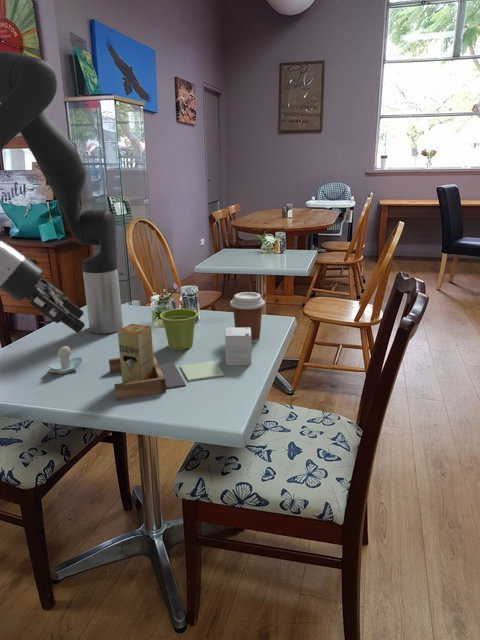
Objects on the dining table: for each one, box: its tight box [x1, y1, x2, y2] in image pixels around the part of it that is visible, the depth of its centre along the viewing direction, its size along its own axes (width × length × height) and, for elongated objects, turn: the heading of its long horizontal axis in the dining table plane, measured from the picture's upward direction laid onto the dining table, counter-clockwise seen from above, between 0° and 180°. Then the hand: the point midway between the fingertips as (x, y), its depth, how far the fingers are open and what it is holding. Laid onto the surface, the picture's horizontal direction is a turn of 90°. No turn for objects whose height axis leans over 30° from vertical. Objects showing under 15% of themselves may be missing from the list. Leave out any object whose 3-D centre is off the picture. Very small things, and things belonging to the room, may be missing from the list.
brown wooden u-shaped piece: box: [108, 353, 167, 401], centre depth 104 cm, size 15×10×3 cm, turn 19°
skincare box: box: [224, 326, 252, 366], centre depth 114 cm, size 6×6×7 cm
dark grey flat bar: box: [159, 363, 187, 390], centre depth 107 cm, size 12×4×1 cm, turn 19°
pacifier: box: [48, 345, 83, 375], centre depth 110 cm, size 7×6×6 cm
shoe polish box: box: [117, 323, 155, 383], centre depth 103 cm, size 5×5×12 cm
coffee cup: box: [229, 291, 266, 344], centre depth 127 cm, size 9×9×12 cm
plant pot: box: [159, 308, 199, 351], centre depth 123 cm, size 9×9×9 cm
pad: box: [179, 360, 225, 382], centre depth 109 cm, size 8×8×1 cm
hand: (81, 322), depth 97 cm, fingers open, 8 cm apart
